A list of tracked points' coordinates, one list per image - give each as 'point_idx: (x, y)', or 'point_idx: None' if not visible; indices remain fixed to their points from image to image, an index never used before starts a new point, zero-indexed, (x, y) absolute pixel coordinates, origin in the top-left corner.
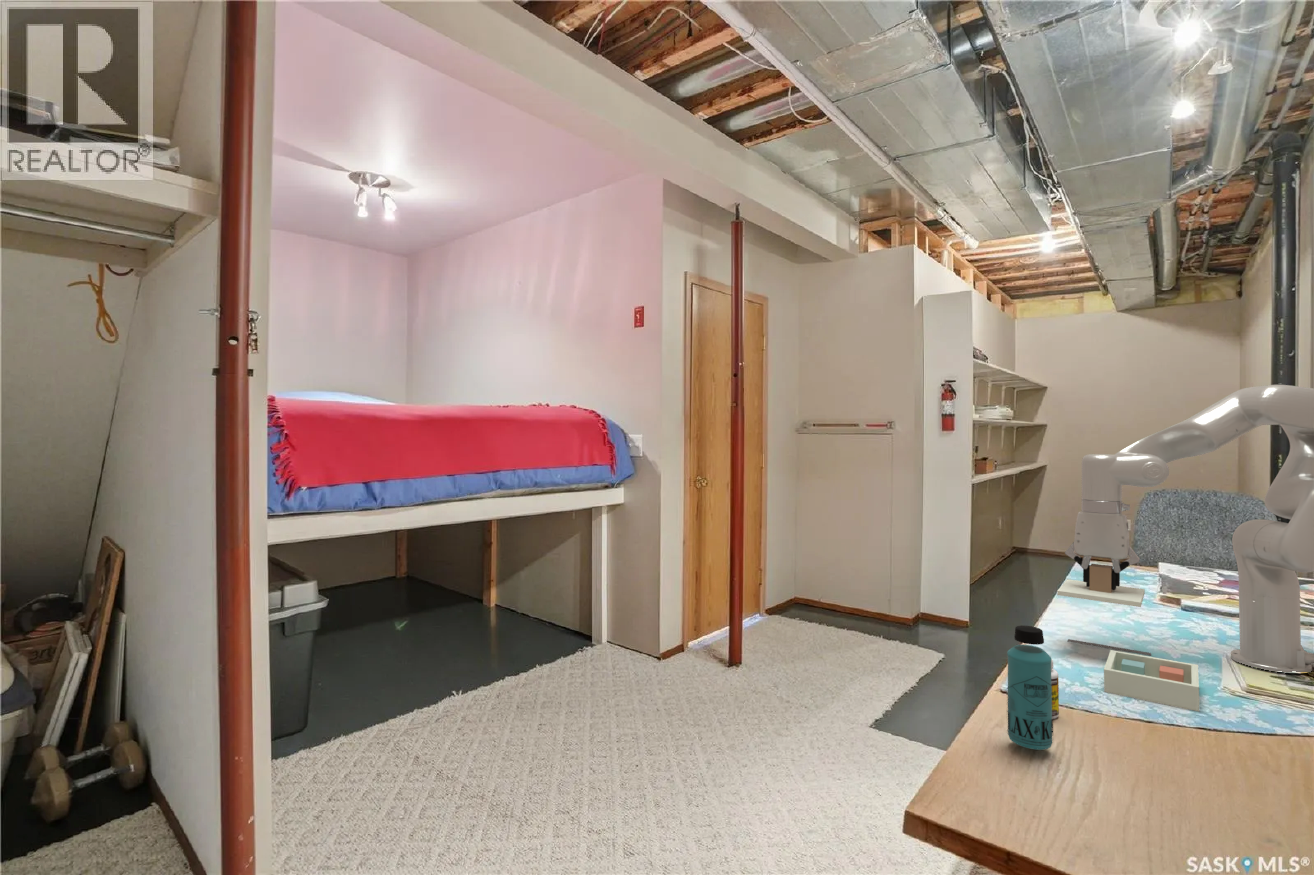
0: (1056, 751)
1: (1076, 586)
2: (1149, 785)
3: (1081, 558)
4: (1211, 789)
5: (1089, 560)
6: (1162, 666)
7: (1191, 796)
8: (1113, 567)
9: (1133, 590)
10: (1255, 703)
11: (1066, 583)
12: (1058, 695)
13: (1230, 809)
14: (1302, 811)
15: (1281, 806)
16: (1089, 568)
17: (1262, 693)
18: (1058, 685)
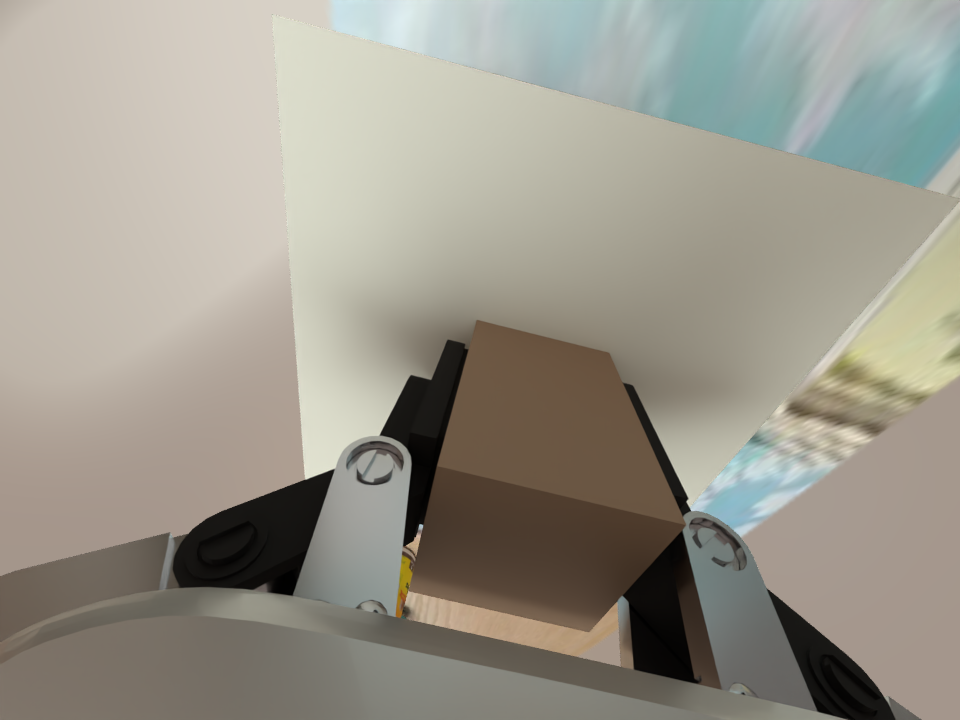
0: (415, 607)
1: (380, 351)
2: (485, 633)
3: (281, 565)
4: (534, 633)
5: (392, 558)
6: None
7: (514, 639)
8: (620, 636)
9: (779, 313)
10: (752, 461)
11: (308, 271)
12: (407, 592)
13: (537, 647)
14: (593, 645)
15: (580, 642)
16: (417, 524)
17: (824, 407)
18: (403, 607)
